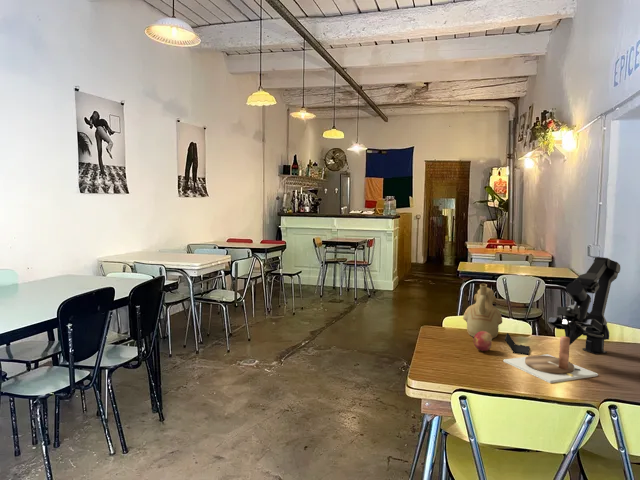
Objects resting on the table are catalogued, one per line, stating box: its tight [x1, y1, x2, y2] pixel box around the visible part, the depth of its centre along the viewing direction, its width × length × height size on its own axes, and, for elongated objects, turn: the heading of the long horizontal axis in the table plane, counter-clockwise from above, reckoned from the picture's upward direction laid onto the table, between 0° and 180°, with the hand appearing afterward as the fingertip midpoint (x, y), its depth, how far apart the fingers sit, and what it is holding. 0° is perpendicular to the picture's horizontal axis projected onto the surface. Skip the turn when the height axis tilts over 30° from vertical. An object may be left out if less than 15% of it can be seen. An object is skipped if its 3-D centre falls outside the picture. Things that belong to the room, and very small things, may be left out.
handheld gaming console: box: [504, 332, 531, 356], centre depth 189 cm, size 12×7×10 cm
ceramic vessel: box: [462, 283, 503, 339], centre depth 209 cm, size 17×20×25 cm
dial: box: [525, 335, 575, 374], centre depth 167 cm, size 16×16×12 cm
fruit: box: [472, 331, 493, 352], centre depth 187 cm, size 8×8×8 cm
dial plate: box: [502, 353, 599, 384], centre depth 168 cm, size 22×22×1 cm
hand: (567, 344), depth 169 cm, fingers closed
